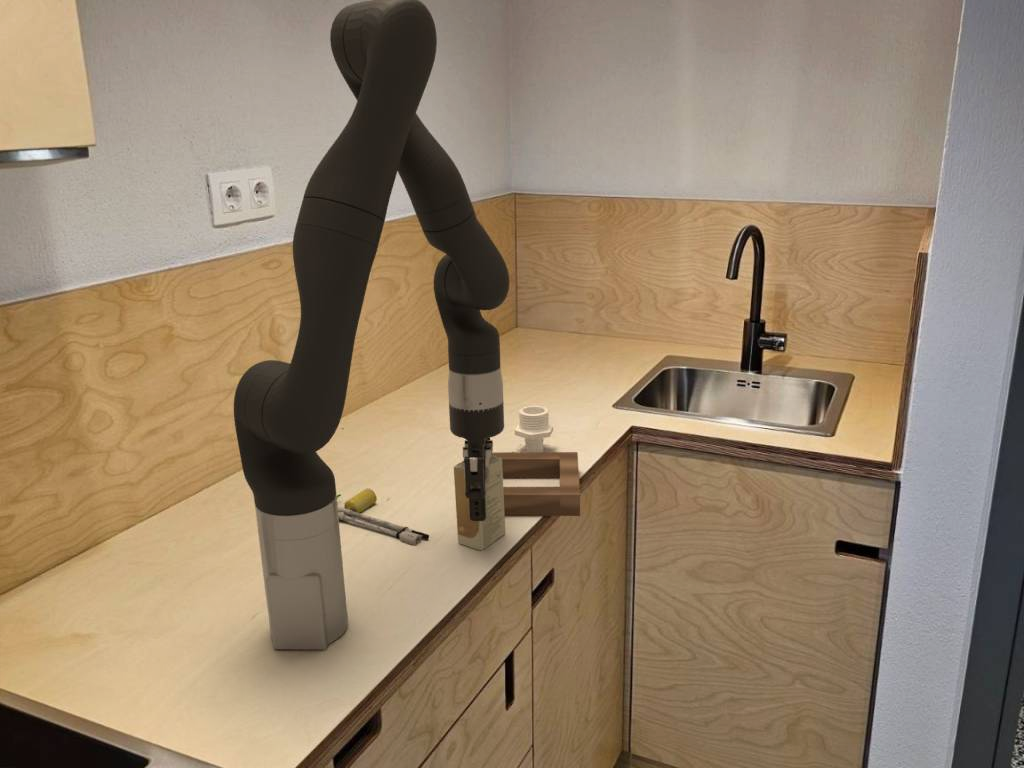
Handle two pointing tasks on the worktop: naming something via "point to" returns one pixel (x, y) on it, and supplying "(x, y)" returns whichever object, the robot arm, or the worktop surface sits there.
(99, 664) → the worktop surface
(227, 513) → the worktop surface
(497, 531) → the skincare box
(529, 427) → the pipe fitting
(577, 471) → the brown square open frame
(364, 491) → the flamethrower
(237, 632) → the worktop surface
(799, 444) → the worktop surface
